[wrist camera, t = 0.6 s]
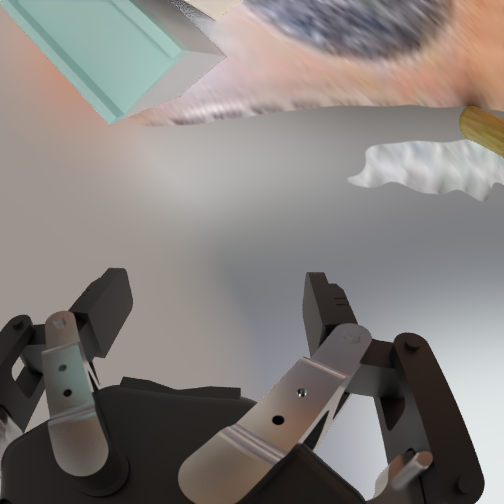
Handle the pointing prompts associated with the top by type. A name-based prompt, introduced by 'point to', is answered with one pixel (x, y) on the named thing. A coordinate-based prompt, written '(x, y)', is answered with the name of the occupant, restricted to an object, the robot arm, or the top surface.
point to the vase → (483, 128)
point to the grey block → (190, 66)
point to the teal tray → (101, 47)
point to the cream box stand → (214, 6)
